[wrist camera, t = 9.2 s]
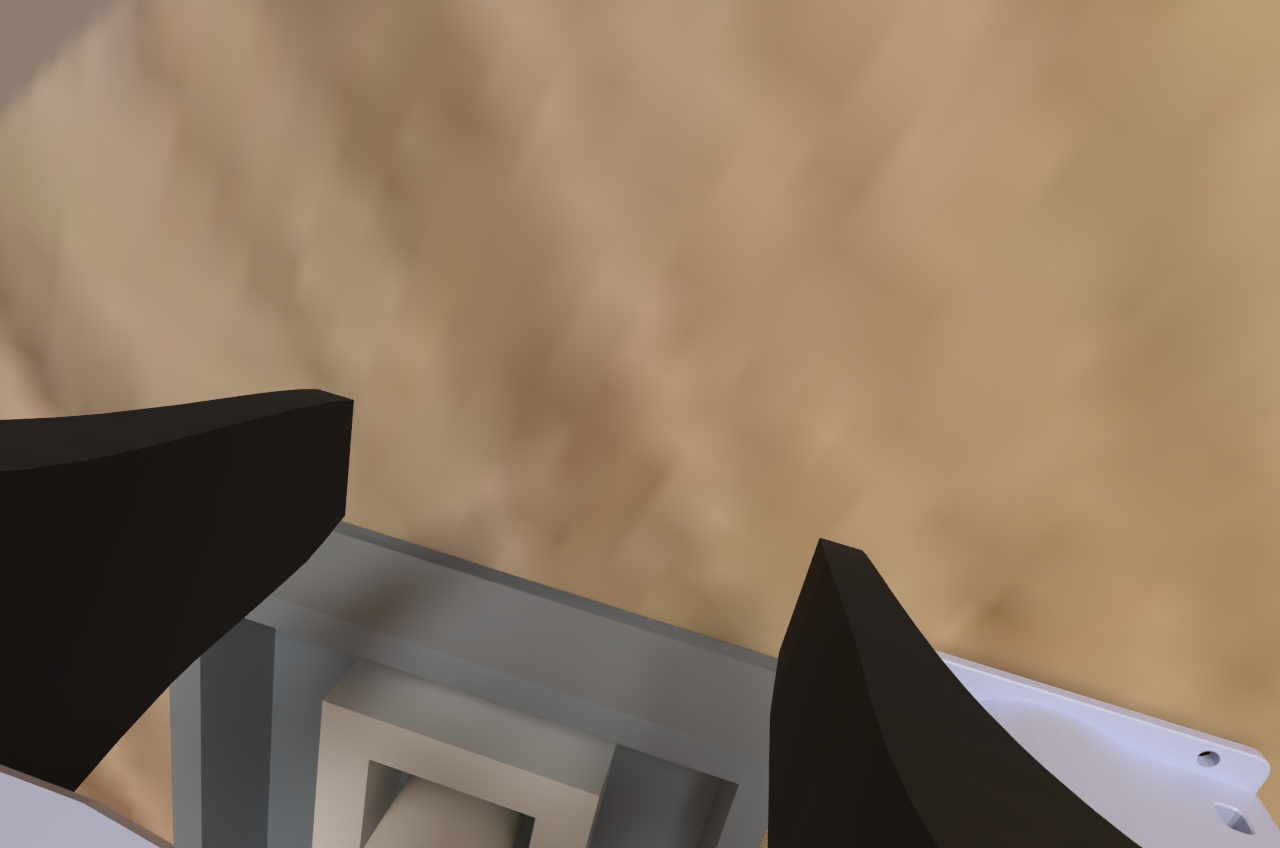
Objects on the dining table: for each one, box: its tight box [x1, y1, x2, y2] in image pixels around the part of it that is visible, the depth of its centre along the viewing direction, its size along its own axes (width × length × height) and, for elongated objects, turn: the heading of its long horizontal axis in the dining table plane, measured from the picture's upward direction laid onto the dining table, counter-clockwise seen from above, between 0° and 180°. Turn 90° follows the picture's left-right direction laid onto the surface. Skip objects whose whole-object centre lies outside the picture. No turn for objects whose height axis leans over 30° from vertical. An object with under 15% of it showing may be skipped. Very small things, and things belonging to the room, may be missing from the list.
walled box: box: [169, 521, 778, 848], centre depth 25 cm, size 17×16×4 cm
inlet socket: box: [312, 657, 618, 848], centre depth 25 cm, size 8×8×3 cm
